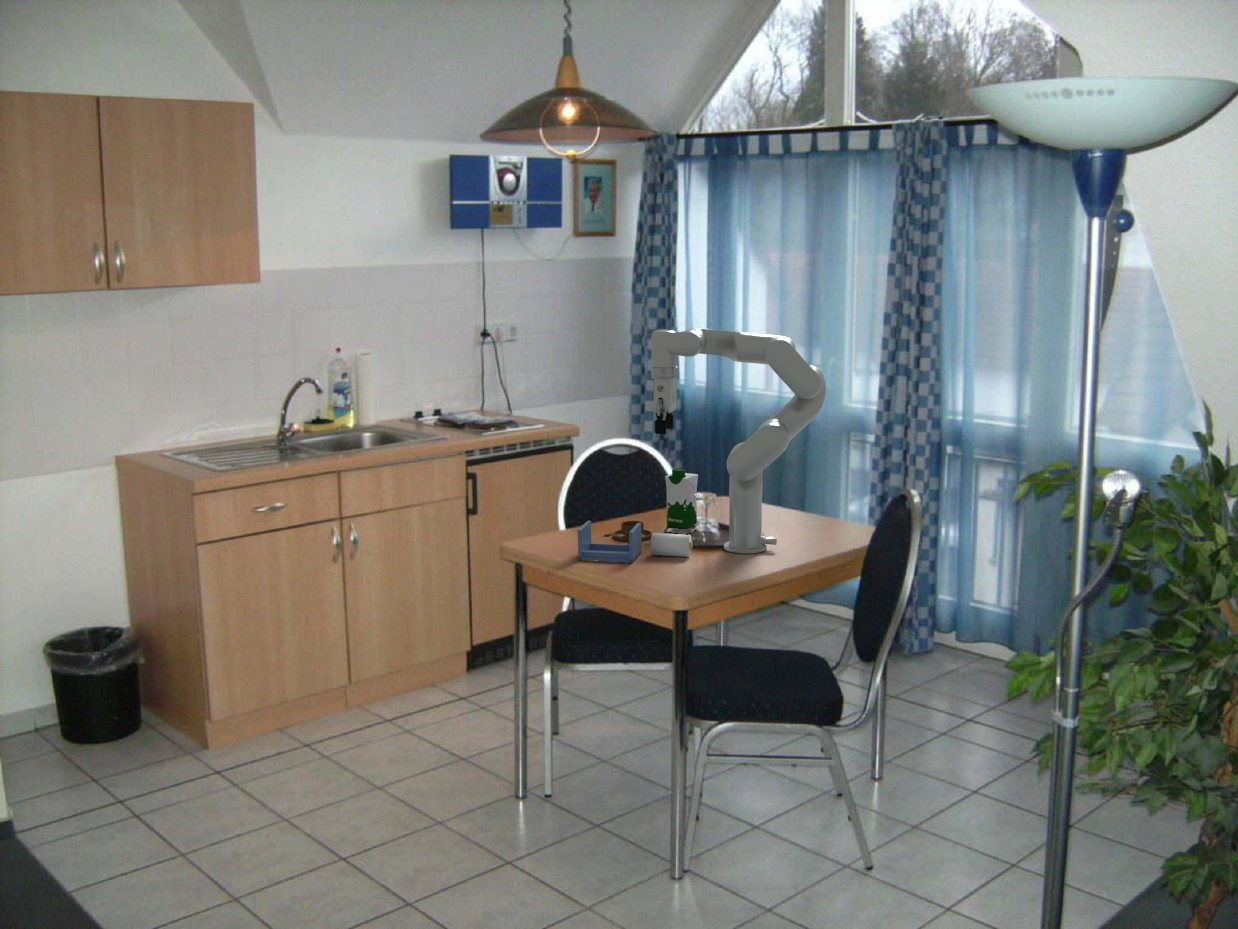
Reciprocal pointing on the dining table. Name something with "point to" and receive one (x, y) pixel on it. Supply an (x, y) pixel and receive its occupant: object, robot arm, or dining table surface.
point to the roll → (671, 544)
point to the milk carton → (681, 499)
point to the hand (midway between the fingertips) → (664, 431)
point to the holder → (608, 546)
